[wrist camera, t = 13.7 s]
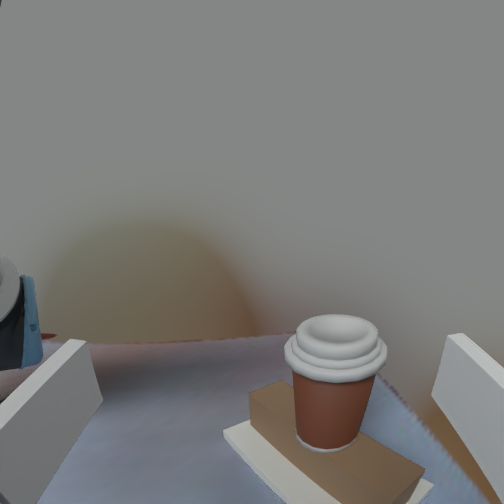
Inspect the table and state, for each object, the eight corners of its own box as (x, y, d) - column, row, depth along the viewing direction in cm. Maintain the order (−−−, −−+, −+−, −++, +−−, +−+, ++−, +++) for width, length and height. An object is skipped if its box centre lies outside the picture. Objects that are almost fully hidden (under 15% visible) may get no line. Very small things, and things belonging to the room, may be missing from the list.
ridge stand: (223, 437, 36) (219, 397, 35) (296, 406, 42) (298, 367, 41) (354, 561, 16) (372, 532, 15) (430, 491, 22) (451, 452, 21)
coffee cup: (385, 448, 24) (411, 341, 22) (295, 472, 23) (302, 364, 20) (349, 399, 33) (360, 304, 31) (273, 413, 31) (273, 315, 29)
